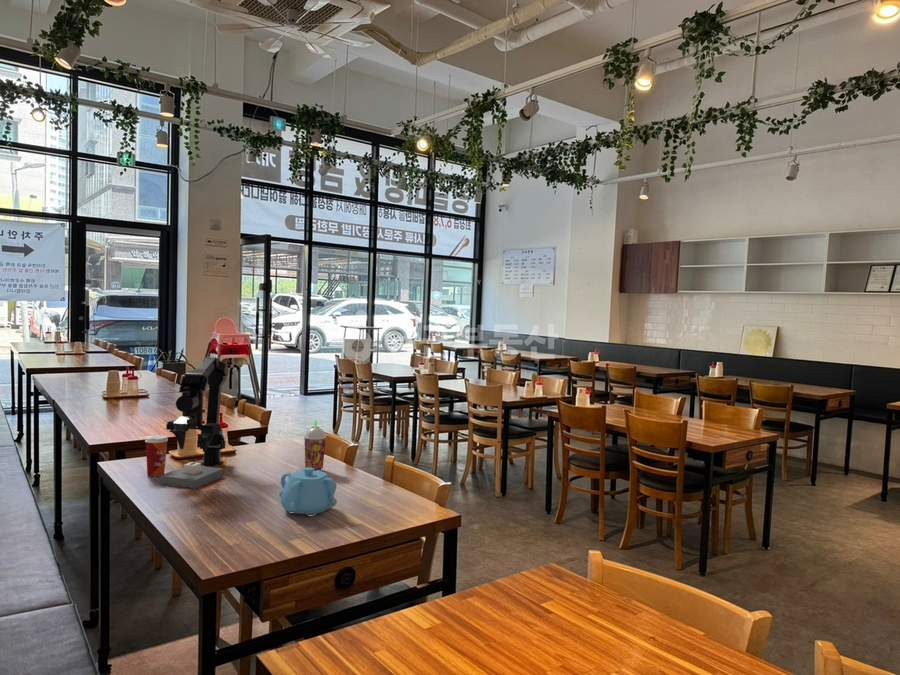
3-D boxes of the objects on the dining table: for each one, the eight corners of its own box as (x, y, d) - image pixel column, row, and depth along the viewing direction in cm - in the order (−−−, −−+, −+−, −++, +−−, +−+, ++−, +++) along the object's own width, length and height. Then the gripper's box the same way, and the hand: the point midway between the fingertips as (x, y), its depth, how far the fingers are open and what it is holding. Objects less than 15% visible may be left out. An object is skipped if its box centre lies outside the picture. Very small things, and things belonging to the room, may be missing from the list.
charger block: (190, 478, 220) (191, 461, 220) (200, 479, 219) (201, 462, 219) (183, 481, 216) (184, 464, 216) (193, 482, 215) (193, 465, 215)
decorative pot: (328, 500, 203) (329, 460, 203) (338, 516, 188) (340, 473, 188) (278, 504, 197) (279, 463, 196) (284, 521, 182) (286, 476, 181)
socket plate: (189, 472, 227) (189, 464, 227) (222, 476, 224) (222, 468, 224) (159, 484, 212) (160, 475, 211) (195, 488, 208) (195, 480, 208)
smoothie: (301, 468, 239) (302, 418, 238) (322, 467, 243) (324, 418, 242) (305, 474, 232) (307, 422, 231) (327, 473, 235) (329, 422, 234)
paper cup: (161, 478, 218) (162, 439, 218) (139, 477, 219) (140, 438, 218) (171, 472, 226) (172, 435, 226) (150, 471, 226) (151, 434, 226)
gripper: (156, 408, 211) (154, 452, 211) (203, 413, 207) (201, 458, 207) (177, 403, 222) (176, 446, 222) (222, 408, 217) (221, 451, 218)
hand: (193, 450), depth 217 cm, fingers open, 9 cm apart
